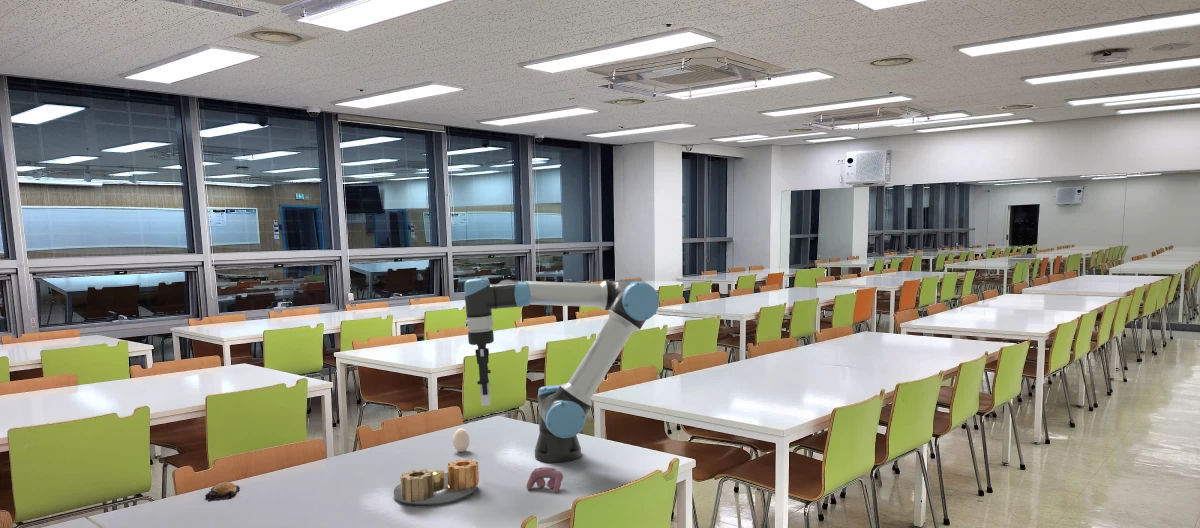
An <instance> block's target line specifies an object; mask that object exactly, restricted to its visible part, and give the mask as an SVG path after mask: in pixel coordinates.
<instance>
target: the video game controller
mask: <svg viewBox="0 0 1200 528" xmlns="http://www.w3.org/2000/svg"><path fill="white" fill-rule="evenodd" d="M529 475H530V476H529V478H528V480H527V483H526V489H527V490H528V491H531V489H532V488H533V487H534V485H535V484H536V486H537V487H538V488H544V487H545V486H547V488H549V489H551V490H552V489H553V492H554V493H558V492H559V491H560V489H561V487H562V481H563V480H564V474H563V472H561V470H558V469H557V468H554V467H549V466H542V467H535V468H534V470H532V471H531V473H530V474H529ZM545 479H548V480H547V482H546V480H545ZM532 490H533V489H532Z"/></svg>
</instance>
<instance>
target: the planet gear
mask: <svg viewBox="0 0 1200 528" xmlns="http://www.w3.org/2000/svg"><path fill="white" fill-rule="evenodd" d="M446 468H447V469H446V471H447V472H446V473H448V487H449V488H454V490H459V489H470V488H471V487H473V486H477V487H478V486H479V482H480V477H479V461H478V460H472V459H470V458H467V459H457V460H455V461H453V462H448V463H447V467H446Z"/></svg>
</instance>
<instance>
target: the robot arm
mask: <svg viewBox="0 0 1200 528" xmlns="http://www.w3.org/2000/svg"><path fill="white" fill-rule="evenodd" d="M463 288H464V301H465V302H464V303H465V312H466V320H465V321H464V323H465V324H467V330H468V332H467V338H468V344H469V345H472V346H477V349H475V353H474V354H475V357H476V363H477V365H478V372H479V373H478V375H479V380H478V381H476V383H477V385H479V390H480V392H479V394H480V404H481V407H486V406H491V405H492V403H491V402H492V400H491V385H490V374H491V369H489V366H488V364H489V363H490V362H489V361H490V360H489V359H490V358H489V356H490V351H489V349H490V348H489V347H487V344H492V343H494V341H495V339H494V338H495V336H494V330H493V328H494V321H493V313H492V310H497V309H507V308H508V309H509V308H510V309H511V308H512V309H513V308H522V307H528V306H530V305H532V306H533V305H538V306H560V307H561V306H564V307H565V306H566V307H594V308H600V309H601V310H602V311H608V315H609V317H608V319H607V320H606V322H605V324H604V325H603V327H602V328H601V330H600V331H599V333H598V334H597V336H596V338H595V339H594V341H593V343H591V346H590V347H589V349H588V351H587V352H586V353H585V355H584V356H583V358H582V359H581V361H580V363H579V365H578V366H577V368H576V369H575V371H574V373H573V374H572V376H571V377H570V379H569V380H568V381H567V382H566V383H561V384H556V385H555V384H554V385H553V384H552V385H545V386H541V387H539V388H538V391H537V393H538V394H537V400H538V426H539V427H538V428H539V429H538V430H539V432H538V433H539V434H538V436H537V437H538V438H537V440H536V444H535V447H534V458H535V459H536V460H538V461H541V462H545V463H565V462H569V461H570V462H571V461H574V460H576V459H578V458H580V457H581V456H582V447H581V445H580V442H579V439H578V438H579V437H578V435H579V434H580V433H581V431H582V430H583V428H584V427H585V424H586V423H585V422H586V416H587V414H588V412H589V411H590V410H591V408H592V407H593V401H592V398H593V396H594V394H595V392H596V390H597V389H598V387H599V386H600V384H601V382H602V381H603V379H604V378H605V376H606V375H607V373H608V372H609V370H610V369H611V367H612V366H613V365H614V363H615V361H616V359H617V357H618V356H619V355H620V352H621V351H622V349H624V347H625V345H626V343H627V341H629V339H630V337H631V336H632V334H633V333H634V332H638V331H641V329H642V327H643V325H645V323H646V321H647V320H649V319H651V318H652V317H653V316H655V314H657V311H658V309H659V306H660V305H659V304H660V299H659V295H658V292H657V290H656V288H655V287H653V286H652V285H651V284H649V283H648V282H645V281H644V280H635V279H622V280H603V281H602V282H601V283H590V282H588V283H587V282H585V283H584V282H582V283H581V282H560V281H558V282H557V281H538V280H534V281H533V280H512V279H504V280H501V281H500V282H498V283H491V282H490V279H488V278H486V277H485V278H471V279H467V280H466V281H465V282H464V287H463Z"/></svg>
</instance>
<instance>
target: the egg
mask: <svg viewBox="0 0 1200 528" xmlns="http://www.w3.org/2000/svg"><path fill="white" fill-rule="evenodd" d="M470 441H471V439H470V436H469V433H468V431H467V430H466V429H464V428H458V429H457V430H456V431H455V432H454V434H453V438H452V443H453V447H454V449H455V450H456V451H457V452H460V453H464V452H465V451H467V450H468V449H469V446H470V443H471V442H470Z"/></svg>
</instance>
